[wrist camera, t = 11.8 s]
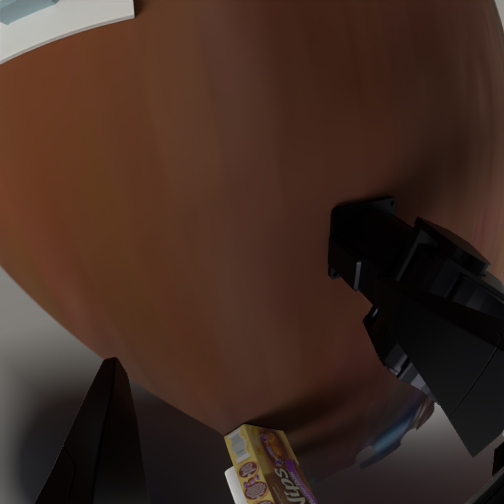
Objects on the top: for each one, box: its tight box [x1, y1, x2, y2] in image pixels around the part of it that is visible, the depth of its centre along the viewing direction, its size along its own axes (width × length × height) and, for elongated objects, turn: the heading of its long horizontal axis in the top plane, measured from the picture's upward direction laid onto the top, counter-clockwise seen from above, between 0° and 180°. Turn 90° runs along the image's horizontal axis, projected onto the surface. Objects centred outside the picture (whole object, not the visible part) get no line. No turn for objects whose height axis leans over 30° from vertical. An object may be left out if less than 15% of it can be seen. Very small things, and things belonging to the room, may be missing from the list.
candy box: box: [224, 424, 318, 504], centre depth 31 cm, size 9×4×15 cm, turn 42°
